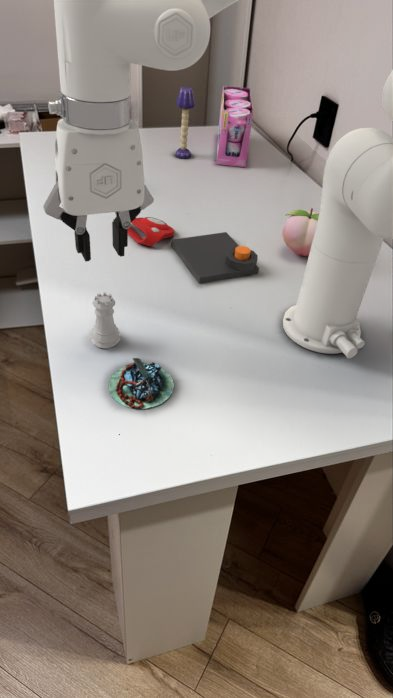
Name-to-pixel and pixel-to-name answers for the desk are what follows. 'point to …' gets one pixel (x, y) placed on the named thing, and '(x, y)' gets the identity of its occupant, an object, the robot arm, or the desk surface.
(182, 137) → the toy lamp
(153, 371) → the dish
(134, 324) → the desk surface
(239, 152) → the gum box
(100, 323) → the rook chess piece
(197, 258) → the scale
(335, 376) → the desk surface
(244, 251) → the button
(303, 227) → the decorative fruit
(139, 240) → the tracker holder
